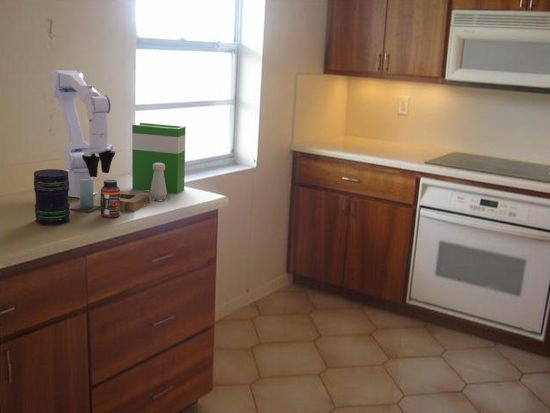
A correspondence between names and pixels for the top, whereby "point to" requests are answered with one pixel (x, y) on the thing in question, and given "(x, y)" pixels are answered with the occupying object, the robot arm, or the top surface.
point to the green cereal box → (158, 155)
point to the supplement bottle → (110, 199)
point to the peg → (86, 194)
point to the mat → (77, 208)
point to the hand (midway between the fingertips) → (99, 174)
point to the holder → (132, 201)
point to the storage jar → (51, 197)
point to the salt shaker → (158, 182)
